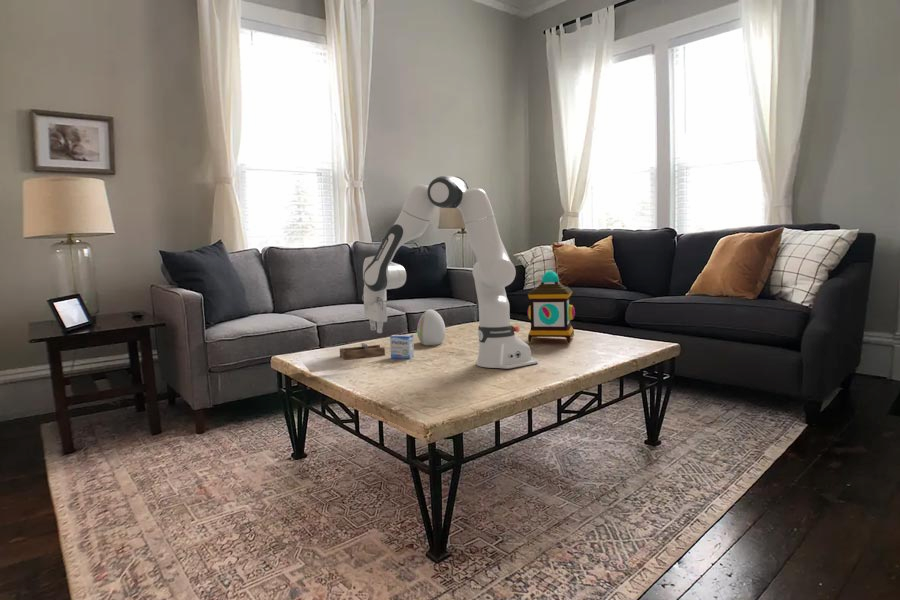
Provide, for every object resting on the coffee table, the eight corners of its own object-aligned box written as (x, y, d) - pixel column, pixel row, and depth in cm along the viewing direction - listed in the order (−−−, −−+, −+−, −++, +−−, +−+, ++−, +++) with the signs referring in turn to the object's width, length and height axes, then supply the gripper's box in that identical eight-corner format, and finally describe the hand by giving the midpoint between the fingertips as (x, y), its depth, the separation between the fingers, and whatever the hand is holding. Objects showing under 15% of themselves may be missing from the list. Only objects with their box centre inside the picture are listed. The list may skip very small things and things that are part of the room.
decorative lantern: (577, 337, 241) (576, 269, 238) (573, 344, 222) (572, 270, 219) (531, 336, 247) (530, 270, 244) (524, 343, 228) (522, 272, 226)
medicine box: (390, 358, 205) (389, 336, 205) (395, 356, 210) (394, 334, 209) (410, 359, 203) (409, 336, 202) (414, 357, 207) (413, 334, 207)
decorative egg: (424, 341, 244) (422, 308, 242) (450, 342, 239) (448, 308, 238) (413, 346, 232) (411, 311, 231) (440, 346, 228) (438, 311, 227)
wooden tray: (379, 352, 221) (379, 344, 220) (384, 355, 213) (384, 347, 213) (339, 356, 214) (339, 348, 214) (344, 359, 207) (343, 351, 207)
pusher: (364, 352, 217) (363, 343, 217) (367, 354, 212) (367, 344, 212) (361, 352, 216) (361, 343, 216) (365, 354, 211) (364, 345, 211)
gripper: (390, 297, 206) (391, 334, 207) (376, 294, 225) (377, 328, 226) (374, 298, 203) (375, 335, 205) (361, 295, 222) (362, 329, 223)
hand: (376, 331), depth 215 cm, fingers open, 8 cm apart
